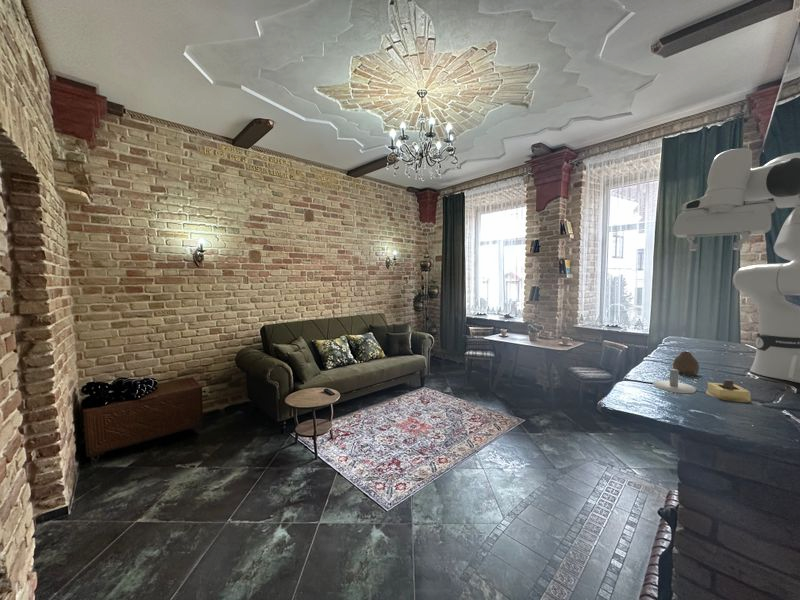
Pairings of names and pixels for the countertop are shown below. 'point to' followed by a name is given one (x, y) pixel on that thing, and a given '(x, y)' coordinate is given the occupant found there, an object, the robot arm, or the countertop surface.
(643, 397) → the countertop surface
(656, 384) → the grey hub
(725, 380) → the oak stand
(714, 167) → the robot arm
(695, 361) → the vase
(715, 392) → the yellow square frame
